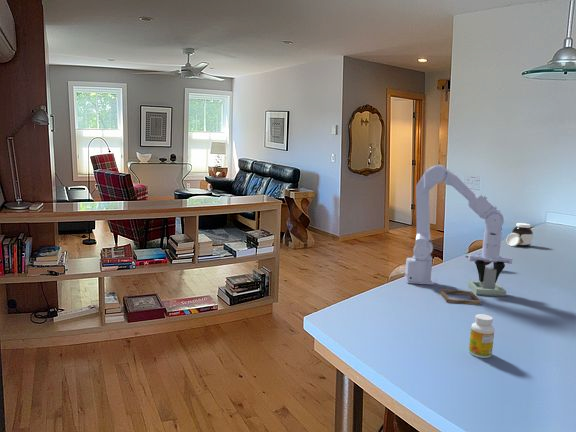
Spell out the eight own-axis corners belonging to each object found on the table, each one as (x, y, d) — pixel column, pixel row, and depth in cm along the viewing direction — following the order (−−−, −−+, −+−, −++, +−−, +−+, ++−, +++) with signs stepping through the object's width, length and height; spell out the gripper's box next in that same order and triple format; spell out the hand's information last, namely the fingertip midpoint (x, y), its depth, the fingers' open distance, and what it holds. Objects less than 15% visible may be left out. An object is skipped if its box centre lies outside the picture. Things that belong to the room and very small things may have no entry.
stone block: (482, 288, 168) (484, 269, 167) (479, 285, 172) (481, 266, 171) (494, 289, 168) (496, 270, 167) (490, 285, 172) (493, 267, 171)
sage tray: (476, 294, 166) (476, 289, 165) (468, 286, 176) (468, 280, 175) (505, 296, 165) (506, 291, 165) (496, 288, 175) (496, 282, 174)
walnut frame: (446, 302, 157) (446, 299, 156) (439, 291, 167) (439, 289, 167) (480, 304, 156) (481, 301, 155) (471, 294, 166) (471, 291, 166)
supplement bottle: (464, 348, 121) (468, 312, 120) (484, 349, 122) (489, 312, 120) (474, 358, 116) (478, 320, 114) (495, 358, 116) (500, 321, 115)
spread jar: (532, 245, 254) (534, 224, 252) (529, 249, 244) (532, 227, 243) (507, 242, 260) (510, 221, 258) (504, 245, 251) (507, 224, 249)
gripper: (473, 245, 164) (469, 283, 166) (517, 248, 163) (512, 286, 165) (468, 241, 171) (464, 277, 173) (509, 243, 170) (505, 280, 172)
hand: (487, 281), depth 170 cm, fingers closed on stone block, 4 cm apart
